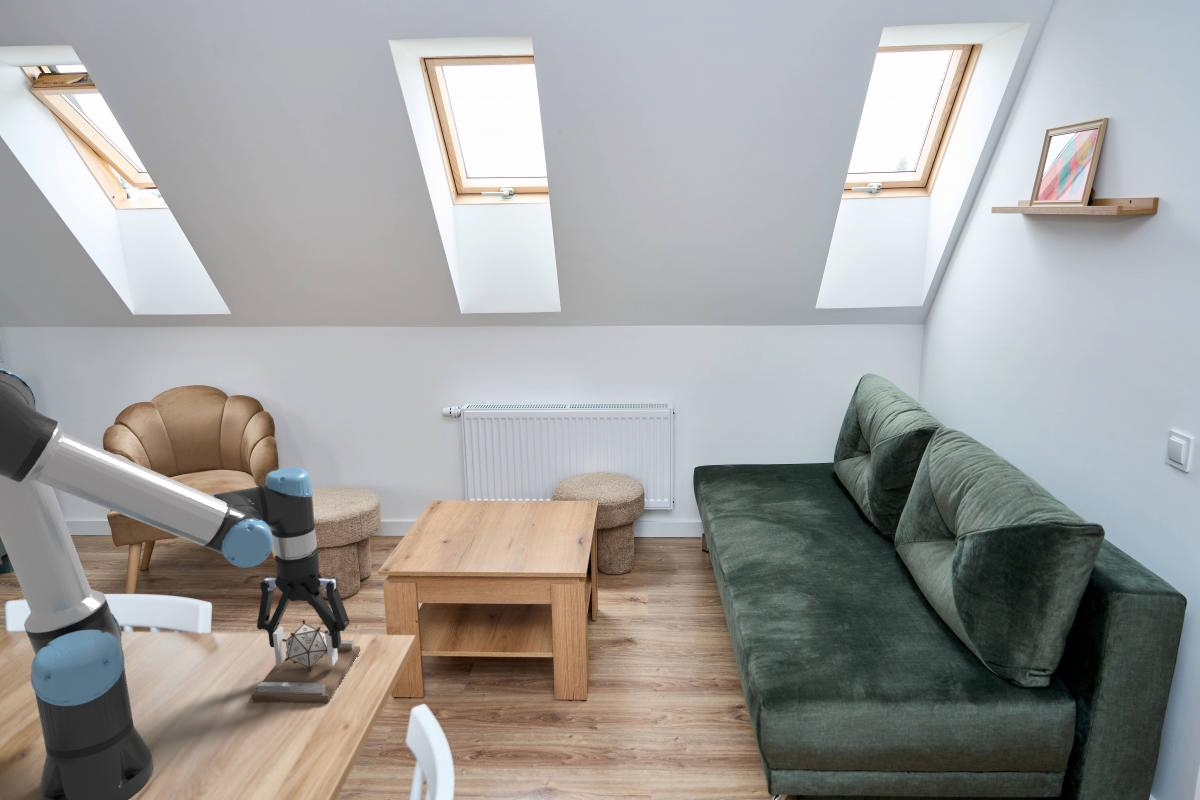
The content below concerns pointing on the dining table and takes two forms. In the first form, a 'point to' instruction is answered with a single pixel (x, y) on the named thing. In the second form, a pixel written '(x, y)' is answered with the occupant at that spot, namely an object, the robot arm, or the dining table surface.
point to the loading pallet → (307, 678)
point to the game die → (306, 645)
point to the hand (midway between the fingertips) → (307, 661)
